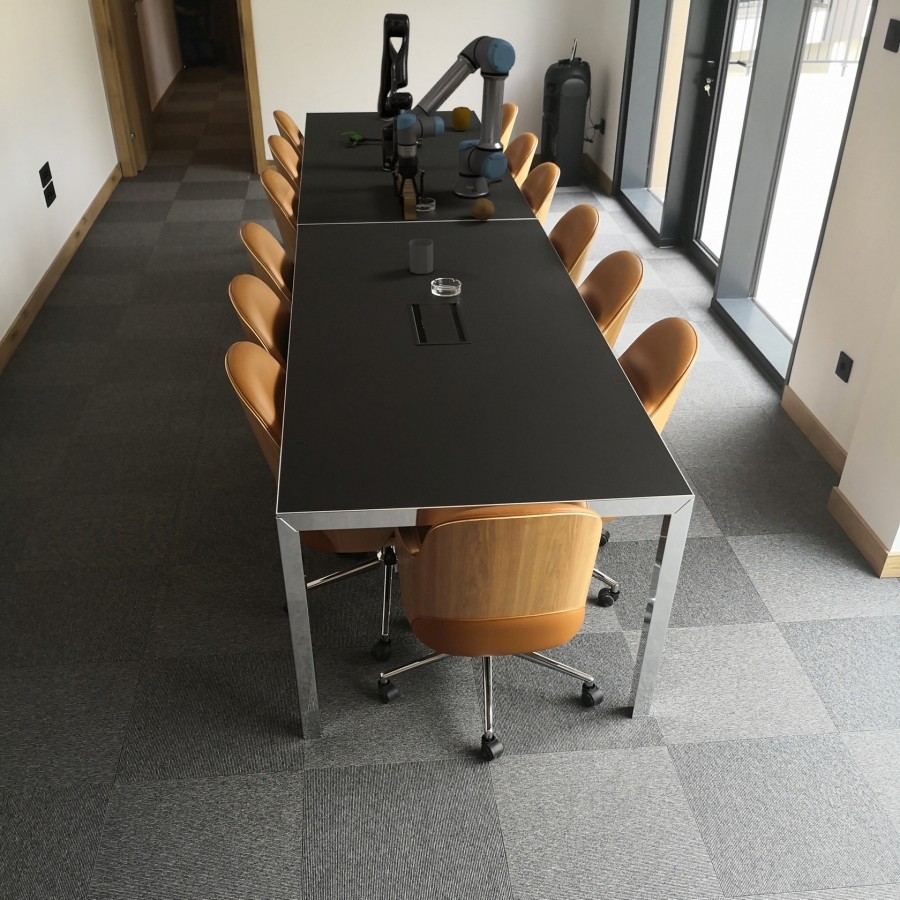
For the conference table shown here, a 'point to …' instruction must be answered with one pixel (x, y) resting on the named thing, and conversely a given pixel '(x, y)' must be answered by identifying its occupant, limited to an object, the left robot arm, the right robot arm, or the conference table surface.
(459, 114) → the apple
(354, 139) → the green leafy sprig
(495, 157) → the right robot arm
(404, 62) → the left robot arm
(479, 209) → the potato
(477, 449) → the conference table surface
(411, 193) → the post
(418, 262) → the cup
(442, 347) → the conference table surface
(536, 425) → the conference table surface
